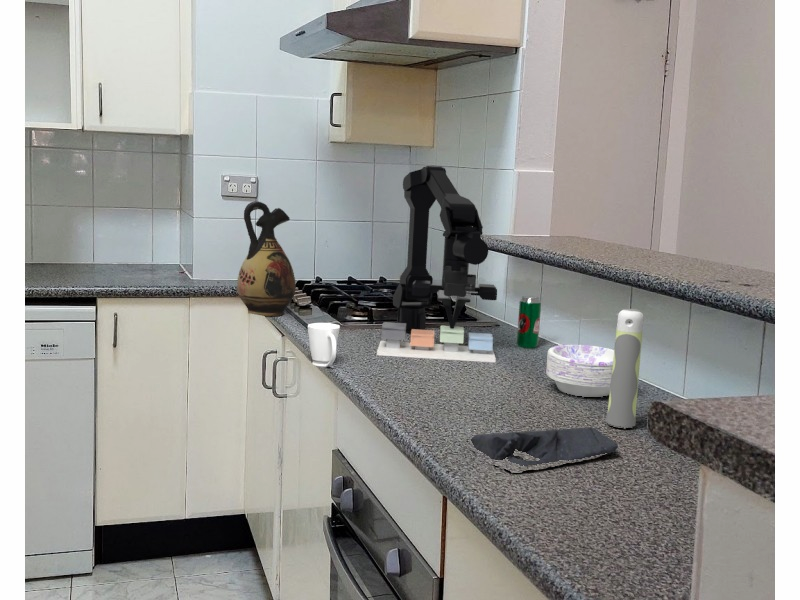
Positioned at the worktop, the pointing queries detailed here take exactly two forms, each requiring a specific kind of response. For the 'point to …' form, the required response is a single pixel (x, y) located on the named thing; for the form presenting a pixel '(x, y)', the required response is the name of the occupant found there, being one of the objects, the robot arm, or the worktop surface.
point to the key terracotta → (422, 338)
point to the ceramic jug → (265, 266)
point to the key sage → (451, 334)
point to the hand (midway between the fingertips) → (451, 328)
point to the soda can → (528, 322)
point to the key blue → (480, 341)
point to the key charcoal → (393, 331)
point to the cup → (323, 343)
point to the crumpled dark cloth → (545, 445)
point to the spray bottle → (625, 369)
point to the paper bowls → (581, 369)
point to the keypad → (434, 351)
